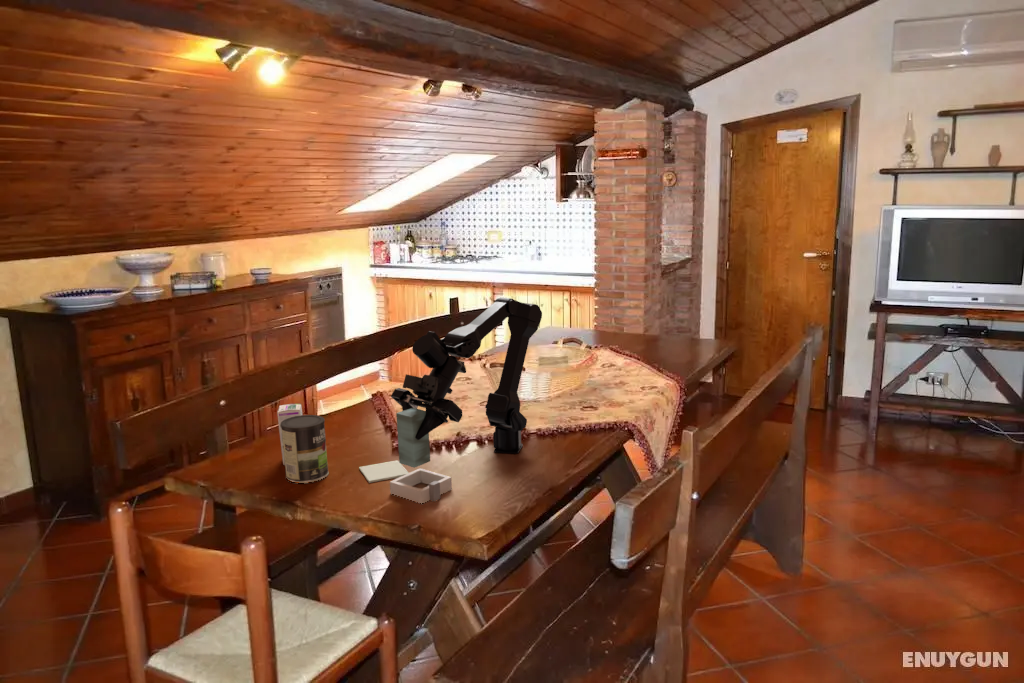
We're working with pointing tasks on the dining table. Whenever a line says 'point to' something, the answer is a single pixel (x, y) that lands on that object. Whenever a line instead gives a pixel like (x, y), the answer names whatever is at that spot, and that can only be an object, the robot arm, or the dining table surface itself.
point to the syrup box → (286, 413)
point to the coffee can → (304, 448)
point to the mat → (383, 471)
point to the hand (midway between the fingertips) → (408, 436)
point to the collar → (431, 492)
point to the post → (412, 438)
